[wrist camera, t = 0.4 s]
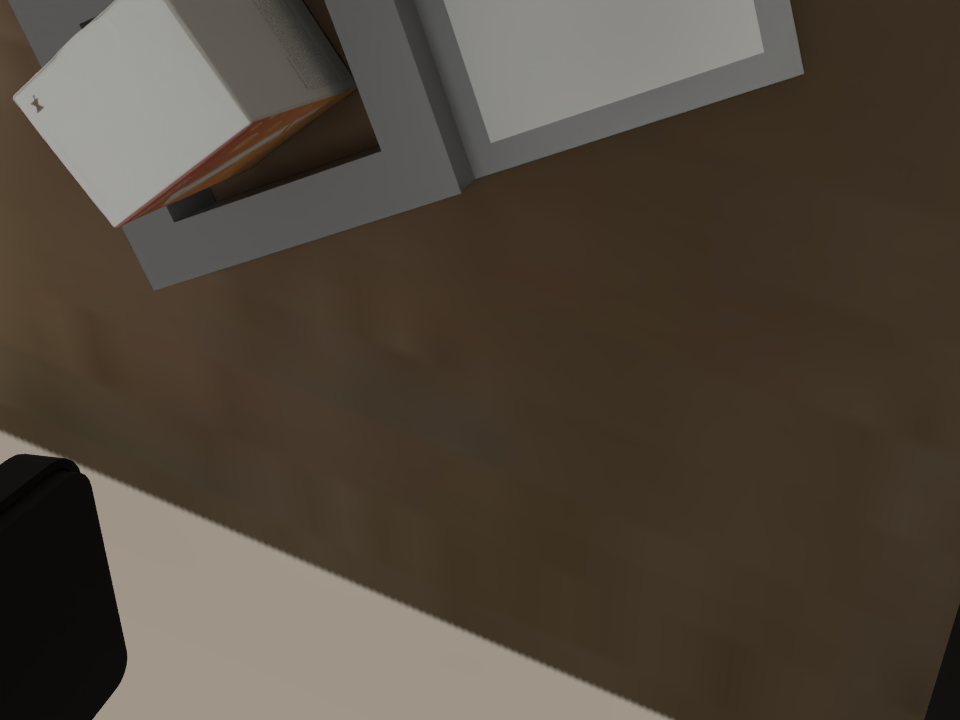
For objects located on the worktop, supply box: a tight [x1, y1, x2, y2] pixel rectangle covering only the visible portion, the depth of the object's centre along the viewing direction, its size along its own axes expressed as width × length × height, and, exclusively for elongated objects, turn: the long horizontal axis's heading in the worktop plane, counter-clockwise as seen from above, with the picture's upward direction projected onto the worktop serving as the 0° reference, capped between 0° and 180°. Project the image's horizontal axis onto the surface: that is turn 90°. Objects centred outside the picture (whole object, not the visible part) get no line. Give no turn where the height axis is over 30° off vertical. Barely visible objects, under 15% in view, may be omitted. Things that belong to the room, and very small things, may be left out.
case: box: [8, 0, 804, 290], centre depth 38 cm, size 16×34×4 cm, turn 109°
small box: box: [13, 0, 357, 228], centre depth 37 cm, size 8×6×13 cm
